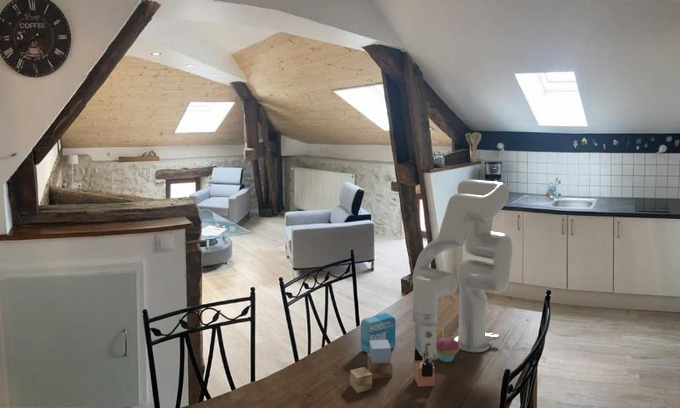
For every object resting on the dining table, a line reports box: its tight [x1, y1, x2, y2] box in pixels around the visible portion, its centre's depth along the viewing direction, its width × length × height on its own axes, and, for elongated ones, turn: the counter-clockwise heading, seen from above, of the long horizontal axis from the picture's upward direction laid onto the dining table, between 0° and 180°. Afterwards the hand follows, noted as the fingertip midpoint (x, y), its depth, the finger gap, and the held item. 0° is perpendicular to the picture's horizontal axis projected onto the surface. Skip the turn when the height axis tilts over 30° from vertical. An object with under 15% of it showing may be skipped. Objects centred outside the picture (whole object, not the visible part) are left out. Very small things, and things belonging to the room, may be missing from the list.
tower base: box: [367, 354, 393, 380], centre depth 161 cm, size 7×7×5 cm
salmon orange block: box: [414, 359, 435, 388], centre depth 155 cm, size 5×5×6 cm
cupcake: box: [436, 327, 460, 363], centre depth 169 cm, size 9×8×12 cm
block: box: [349, 366, 373, 394], centre depth 153 cm, size 5×5×5 cm
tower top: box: [369, 340, 392, 364], centre depth 160 cm, size 6×6×5 cm
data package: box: [360, 312, 397, 355], centre depth 176 cm, size 12×4×12 cm, turn 120°
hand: (423, 368), depth 154 cm, fingers open, 9 cm apart
